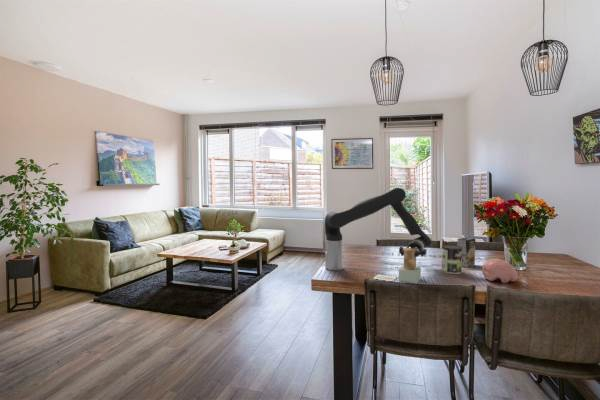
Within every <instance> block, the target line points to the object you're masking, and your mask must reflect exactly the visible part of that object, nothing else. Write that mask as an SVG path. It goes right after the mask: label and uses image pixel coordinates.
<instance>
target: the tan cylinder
mask: <svg viewBox="0 0 600 400" xmlns="http://www.w3.org/2000/svg"><path fill="white" fill-rule="evenodd" d="M405 248H406V247H405ZM415 252H416V249H412V248H406V249H404V255H403V265H404V269H408V270H414V269H415V268H416V267H417V257H415Z"/></svg>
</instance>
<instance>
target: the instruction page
mask: <svg viewBox="0 0 600 400" xmlns="http://www.w3.org/2000/svg"><path fill="white" fill-rule="evenodd" d="M396 278H397V276H392V275H391V276H390V275H383V274H376V275H375V276H374V277H373V278H372V279H373V280H376V279H378V281H383V280H385V282H389V281H393V282H394V281H395V280H396Z"/></svg>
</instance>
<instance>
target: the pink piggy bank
mask: <svg viewBox="0 0 600 400" xmlns="http://www.w3.org/2000/svg"><path fill="white" fill-rule="evenodd" d="M481 272H482V275H483V277H484V278H485V279H486V280H489V281H490V282H494V281H496V280H500V282H501V283H502V284H507V283H509V282H515V281H517V280H518V272H517V270H516V268H515V267H514V266H513V265H512V264H511V263H509V262H508V261H507V260H503V259H500V258H490V259H489V260H487V261H485V262H484V264H483V265H482V271H481Z"/></svg>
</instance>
